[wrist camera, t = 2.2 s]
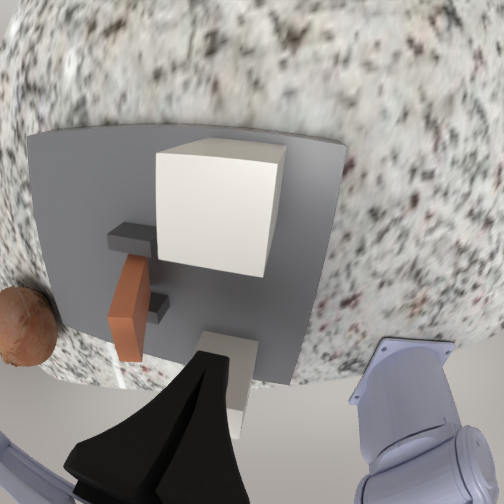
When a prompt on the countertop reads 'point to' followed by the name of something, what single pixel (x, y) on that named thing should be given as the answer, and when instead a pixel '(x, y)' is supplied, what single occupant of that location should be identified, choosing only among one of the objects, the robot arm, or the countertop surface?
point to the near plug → (218, 203)
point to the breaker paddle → (130, 309)
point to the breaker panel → (145, 244)
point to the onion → (26, 327)
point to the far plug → (233, 372)
